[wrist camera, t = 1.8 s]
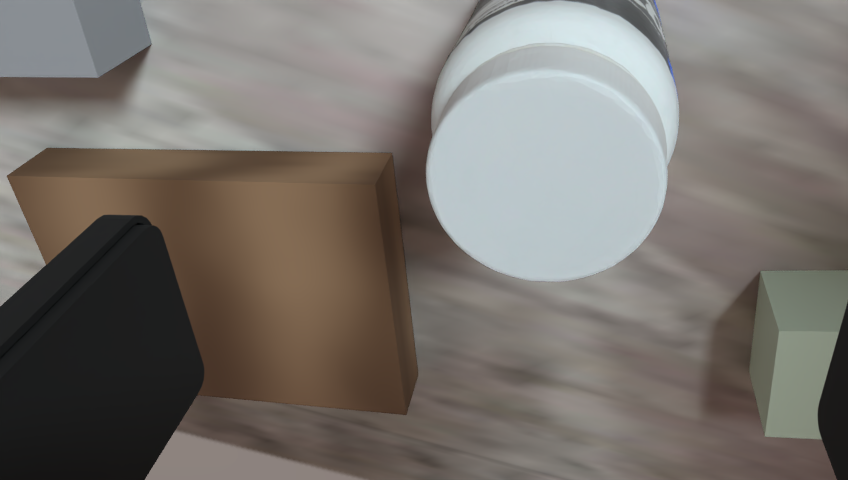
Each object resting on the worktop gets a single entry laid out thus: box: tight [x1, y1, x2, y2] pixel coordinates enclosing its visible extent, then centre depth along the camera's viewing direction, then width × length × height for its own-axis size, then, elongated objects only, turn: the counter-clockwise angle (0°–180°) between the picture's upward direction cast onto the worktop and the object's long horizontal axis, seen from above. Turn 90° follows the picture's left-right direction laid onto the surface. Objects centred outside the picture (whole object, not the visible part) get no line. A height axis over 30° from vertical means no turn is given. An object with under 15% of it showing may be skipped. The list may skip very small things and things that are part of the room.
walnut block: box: [7, 148, 418, 415], centre depth 24 cm, size 12×9×2 cm
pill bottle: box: [426, 0, 679, 282], centre depth 15 cm, size 5×5×8 cm
